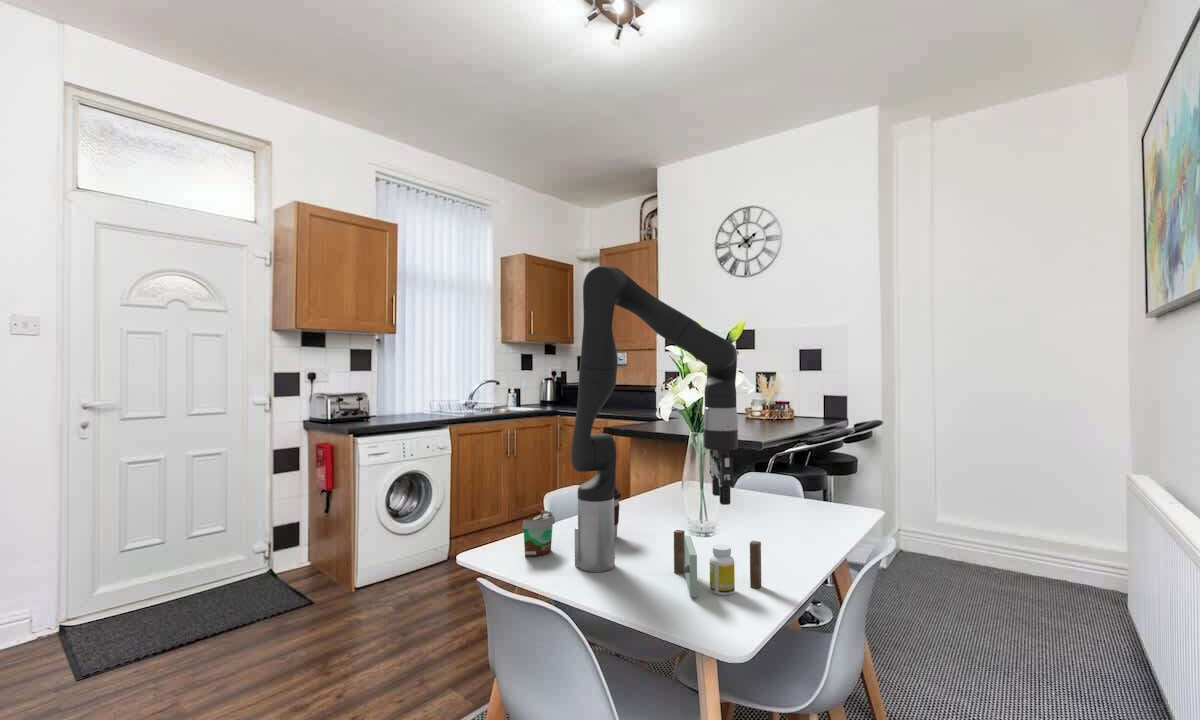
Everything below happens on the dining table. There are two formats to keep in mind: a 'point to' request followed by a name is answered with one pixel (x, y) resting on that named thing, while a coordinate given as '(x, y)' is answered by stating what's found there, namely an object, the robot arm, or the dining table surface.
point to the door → (690, 566)
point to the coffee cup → (616, 510)
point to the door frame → (754, 558)
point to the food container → (538, 534)
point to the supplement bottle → (722, 571)
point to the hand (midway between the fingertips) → (721, 499)
